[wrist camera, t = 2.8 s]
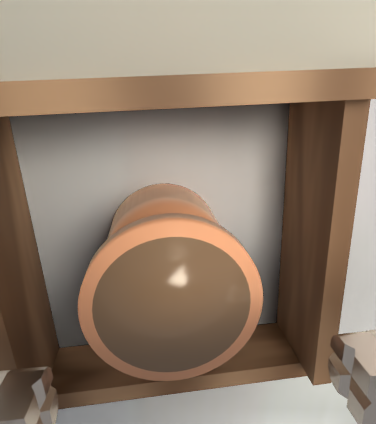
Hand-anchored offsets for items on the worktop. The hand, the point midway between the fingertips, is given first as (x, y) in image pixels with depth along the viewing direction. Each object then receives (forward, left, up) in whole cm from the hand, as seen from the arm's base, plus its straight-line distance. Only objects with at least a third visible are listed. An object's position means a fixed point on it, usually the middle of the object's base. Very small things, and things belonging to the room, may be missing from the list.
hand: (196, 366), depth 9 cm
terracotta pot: (0, 0, -10) cm, 10 cm away
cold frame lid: (0, +12, +4) cm, 12 cm away
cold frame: (0, 0, -10) cm, 10 cm away
